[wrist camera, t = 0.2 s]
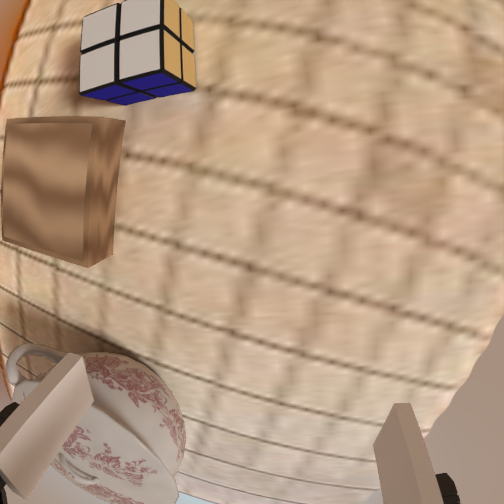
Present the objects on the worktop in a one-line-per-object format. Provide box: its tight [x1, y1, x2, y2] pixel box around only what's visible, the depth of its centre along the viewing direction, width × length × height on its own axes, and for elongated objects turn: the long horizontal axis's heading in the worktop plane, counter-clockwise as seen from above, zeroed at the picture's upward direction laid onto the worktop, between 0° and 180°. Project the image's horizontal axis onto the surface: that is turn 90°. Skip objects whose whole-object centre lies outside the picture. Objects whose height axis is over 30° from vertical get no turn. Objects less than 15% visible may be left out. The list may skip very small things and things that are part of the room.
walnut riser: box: [1, 117, 125, 268], centre depth 37 cm, size 18×18×6 cm
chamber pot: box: [6, 343, 186, 504], centre depth 39 cm, size 28×28×21 cm
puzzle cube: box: [79, 0, 196, 105], centre depth 29 cm, size 10×10×10 cm
